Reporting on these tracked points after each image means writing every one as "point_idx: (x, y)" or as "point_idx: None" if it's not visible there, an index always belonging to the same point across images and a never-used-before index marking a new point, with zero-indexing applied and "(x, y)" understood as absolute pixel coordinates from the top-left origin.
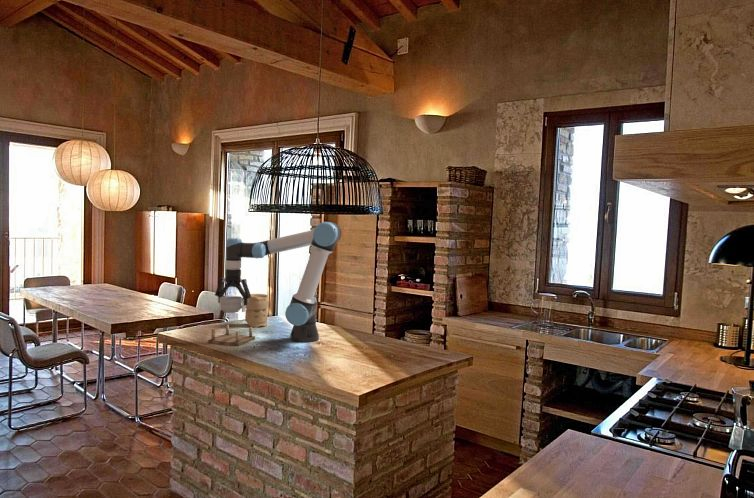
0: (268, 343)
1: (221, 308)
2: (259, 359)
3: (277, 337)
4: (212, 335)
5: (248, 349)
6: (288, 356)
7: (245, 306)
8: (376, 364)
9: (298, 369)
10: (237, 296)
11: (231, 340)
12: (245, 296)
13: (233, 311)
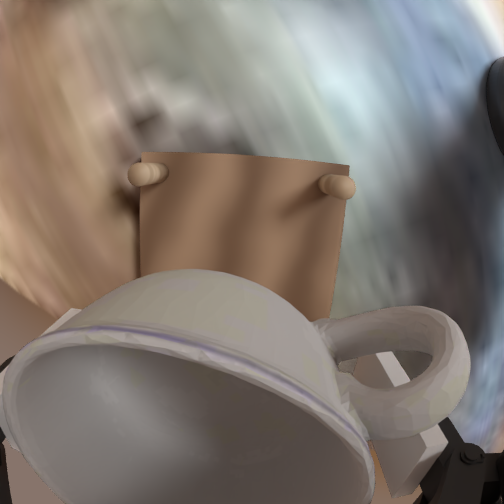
0: (436, 241)
1: (139, 441)
2: None
3: (432, 92)
4: None
5: None
6: (499, 384)
7: (398, 375)
8: None
9: (498, 446)
10: (185, 357)
11: None
12: (454, 485)
13: (269, 420)
